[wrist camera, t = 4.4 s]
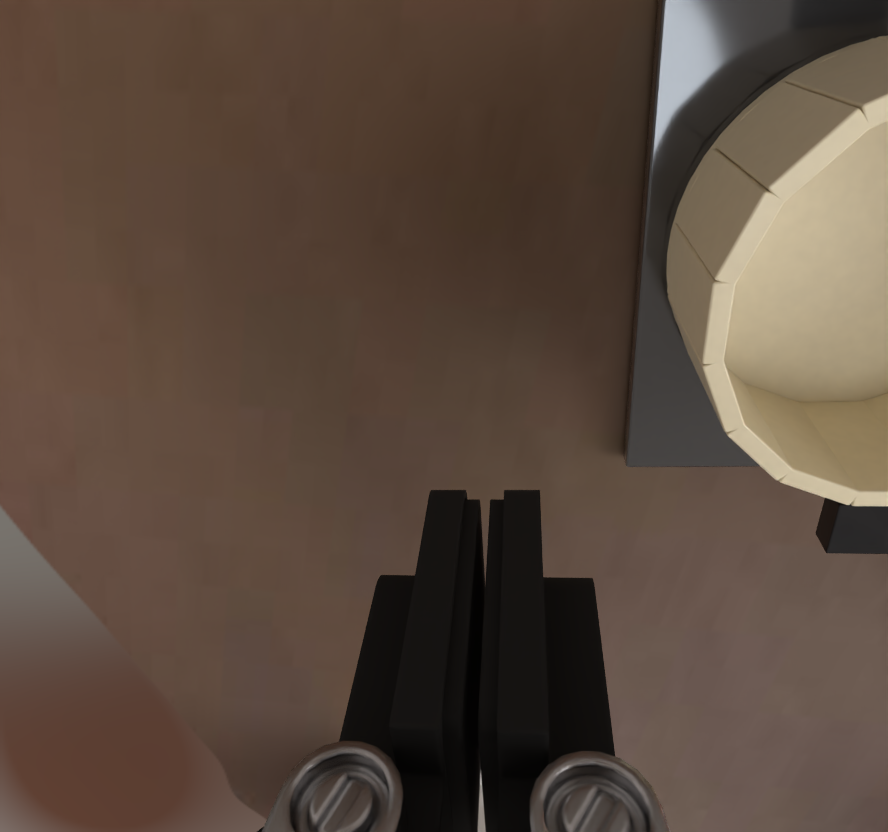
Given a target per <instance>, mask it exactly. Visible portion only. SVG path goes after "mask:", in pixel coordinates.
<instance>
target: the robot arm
mask: <svg viewBox="0 0 888 832" xmlns="http://www.w3.org/2000/svg"><path fill="white" fill-rule="evenodd" d="M258 832H670V829H669V826H668V823H667V820H666V817H665V814H664V811H663V808H662V805H661V803H660V801H659V799H658V797H657V795H656V793H655V791H654V789H653V787H652V786H651V785H650V783H649V782H648V781H647V780H646V779H645V778H644V777H643V775H642V774H641V773H640V772H639V771H638V770H637V769H635V768H634V767H632V766H631V765H629V764H628V763H626V762H625V761H623V760H622V759H620V758H618V757H615V751H614V743H613V735H612V727H611V718H610V710H609V702H608V694H607V685H606V677H605V669H604V661H603V652H602V644H601V636H600V628H599V619H598V611H597V603H596V595H595V587H594V582H593V578H545V577H543V563H542V536H541V510H540V490H504V500H490V515H489V532H488V550H487V567H486V585H485V576H484V559H483V542H482V524H481V507H480V500H467V493H466V490H431V491H430V494H429V499H428V505H427V511H426V517H425V522H424V528H423V534H422V539H421V545H420V551H419V557H418V562H417V568H416V574H415V576H408V575H381V576H380V577H379V579H378V581H377V585H376V588H375V592H374V596H373V600H372V605H371V609H370V613H369V617H368V622H367V626H366V630H365V634H364V639H363V643H362V647H361V651H360V656H359V660H358V664H357V668H356V673H355V677H354V681H353V685H352V689H351V694H350V698H349V702H348V706H347V711H346V715H345V719H344V723H343V728H342V732H341V736H340V740H339V742H336V743H332V744H328V745H324V746H322V747H321V748H319V749H317V750H315V751H314V752H312V753H310V754H308V755H307V756H306V757H305V758H304V759H303V760H302V761H301V762H299V763H298V764H297V765H296V766H295V767H294V768H293V769H292V771H291V772H290V774H289V776H288V777H287V779H286V781H285V782H284V784H283V785H282V787H281V789H280V792H279V794H278V796H277V798H276V801H275V803H274V805H273V807H272V810H271V812H270V814H269V816H268V819H267V821H266V823H265V826H264V827H263V828H261V829H260V830H259V831H258Z"/></svg>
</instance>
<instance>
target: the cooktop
mask: <svg viewBox="0 0 888 832" xmlns="http://www.w3.org/2000/svg"><path fill="white" fill-rule="evenodd" d="M879 36H888V0H658V11H657V25H656V38H655V51H654V64H653V78H652V91H651V104H650V117H649V130H648V144H647V157H646V170H645V183H644V197H643V210H642V223H641V236H640V249H639V263H638V276H637V289H636V302H635V315H634V329H633V342H632V355H631V368H630V382H629V395H628V408H627V421H626V434H625V448H624V459H625V463H626V466H627V467H709V466H760V465H759V464H758V463H756V462H755V461H754V460H753V459H752V458H751V457H750V456H749V455H748V454H747V453H746V452H745V451H743V450H742V449H741V448H740V447H739V446H738V445H737V444H736V443H735V442H734V441H733V440H731V439H730V438H729V437H728V436H727V434H726V432H725V431H724V430H723V427H722V425H721V423H720V421H719V419H718V417H717V414H716V412H715V410H714V408H713V406H712V404H711V402H710V399H709V397H708V395H707V393H706V391H705V389H704V386H703V384H702V382H701V380H700V378H699V376H698V374H697V371H696V369H695V367H694V365H693V363H692V361H691V358H690V356H689V354H688V352H687V349H686V347H685V344H684V341H683V338H682V335H681V333H680V330H679V327H678V325H677V322H676V320H675V318H674V314H673V311H672V307H671V305H670V302H669V299H668V292H667V288H668V285H667V251H668V245H669V239H670V233H671V229H672V225H673V222H674V219H675V215H676V212H677V209H678V205H679V203H680V201H681V199H682V196H683V194H684V192H685V190H686V187H687V185H688V183H689V181H690V179H691V177H692V176H693V174H694V172H695V171H696V169H697V167H698V165H699V164H700V162H701V160H702V159H703V157H704V156H705V154H706V153H707V152H708V150H709V149H710V148H711V146H712V145H713V144H714V142H715V141H716V140H717V138H718V137H719V136H720V134H721V133H722V132H723V131H724V130H725V129H726V128H727V127H728V126H729V125H730V124H731V122H732V121H733V120H734V119H735V118H736V117H737V116H738V115H739V114H740V113H741V112H742V111H743V110H744V109H745V108H746V107H747V106H749V105H750V104H751V103H752V102H753V101H754V100H756V99H757V98H758V97H759V96H760V95H761V94H763V93H764V92H765V91H766V90H768V89H769V88H770V87H772V86H773V85H775V84H776V83H778V82H779V81H781V80H782V79H783V78H785V77H786V76H788V75H789V74H791V73H792V72H794V71H796V70H798V69H799V68H801V67H803V66H805V65H807V64H809V63H811V62H812V61H814V60H816V59H818V58H820V57H822V56H824V55H827V54H829V53H832V52H834V51H837V50H839V49H842V48H844V47H847V46H849V45H852V44H856V43H859V42H863V41H867V40H869V39H872V38H877V37H879Z"/></svg>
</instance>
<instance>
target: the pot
mask: <svg viewBox="0 0 888 832" xmlns="http://www.w3.org/2000/svg"><path fill="white" fill-rule="evenodd" d="M667 285H668V288H667V292H668V299H669V302H670V305H671V307H672V311H673V314H674V318H675V320H676V322H677V325H678V327H679V330H680V333H681V335H682V338H683V341H684V344H685V347H686V349H687V352H688V354H689V356H690V358H691V361H692V363H693V365H694V367H695V369H696V371H697V374H698V376H699V378H700V380H701V382H702V384H703V386H704V389H705V391H706V393H707V395H708V397H709V399H710V402H711V404H712V406H713V408H714V410H715V412H716V414H717V417H718V419H719V421H720V423H721V425H722V427H723V430H724V431H725V432H726V434H727V436H728V437H729V438H730V439H731V440H733V441H734V442H735V443H736V444H737V445H738V446H739V447H740V448H741V449H742V450H743V451H745V452H746V453H747V454H748V455H749V456H750V457H751V458H752V459H753V460H754V461H755V462H756V463H758V464H759V465H760V466H761V467H762V468H763V469H764V470H765V471H766V472H767V473H768V474H770V475H771V476H772V477H773V478H774V479H775V480H779V482H781V483H783V484H786V485H789V486H792V487H795V488H798V489H801V490H804V491H807V492H810V493H813V494H816V495H819V496H822V497H825V500H824V504H823V507H822V511H821V515H820V519H819V522H818V526H817V530H816V535H817V537H818V539H819V540H820V542H821V544H822V546H823V548H824V550H825V551H826V553H856V554H888V36H879V37H877V38H872V39H869V40H867V41H863V42H859V43H856V44H852V45H849V46H847V47H844V48H842V49H839V50H837V51H834V52H832V53H829V54H827V55H824V56H822V57H820V58H818V59H816V60H814V61H812V62H811V63H809V64H807V65H805V66H803V67H801V68H799V69H798V70H796V71H794V72H792V73H791V74H789V75H788V76H786V77H785V78H783V79H782V80H781V81H779V82H778V83H776V84H775V85H773V86H772V87H770V88H769V89H768V90H766V91H765V92H764V93H763V94H761V95H760V96H759V97H758V98H757V99H756V100H754V101H753V102H752V103H751V104H750V105H749V106H747V107H746V108H745V109H744V110H743V111H742V112H741V113H740V114H739V115H738V116H737V117H736V118H735V119H734V120H733V121H732V122H731V124H730V125H729V126H728V127H727V128H726V129H725V130H724V131H723V132H722V133H721V134H720V136H719V137H718V138H717V140H716V141H715V142H714V144H713V145H712V146H711V148H710V149H709V150H708V152H707V153H706V154H705V156H704V157H703V159H702V160H701V162H700V164H699V165H698V167H697V169H696V171H695V172H694V174H693V176H692V177H691V179H690V181H689V183H688V185H687V187H686V190H685V192H684V194H683V196H682V199H681V201H680V203H679V205H678V209H677V212H676V215H675V219H674V222H673V225H672V229H671V233H670V239H669V245H668V251H667Z"/></svg>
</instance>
